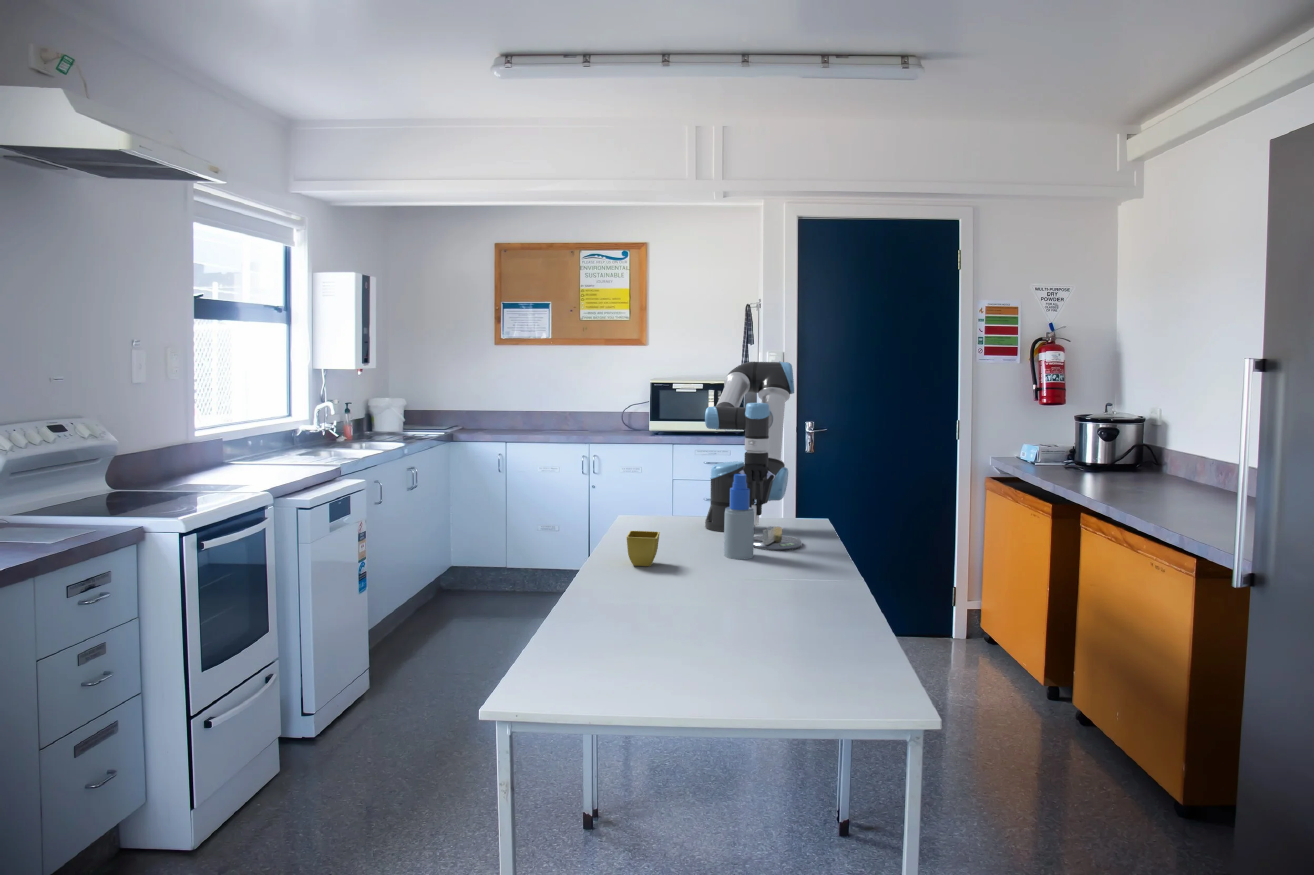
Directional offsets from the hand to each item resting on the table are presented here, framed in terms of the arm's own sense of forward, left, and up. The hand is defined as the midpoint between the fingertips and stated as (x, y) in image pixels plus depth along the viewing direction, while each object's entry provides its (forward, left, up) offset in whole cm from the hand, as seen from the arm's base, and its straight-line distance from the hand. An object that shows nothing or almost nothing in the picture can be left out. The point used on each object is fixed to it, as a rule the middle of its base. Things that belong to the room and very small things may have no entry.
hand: (754, 525), depth 258 cm
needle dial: (-1, +5, -5) cm, 8 cm away
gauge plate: (-4, +6, -7) cm, 10 cm away
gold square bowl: (+34, -26, -7) cm, 43 cm away
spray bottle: (+14, -2, -7) cm, 16 cm away
